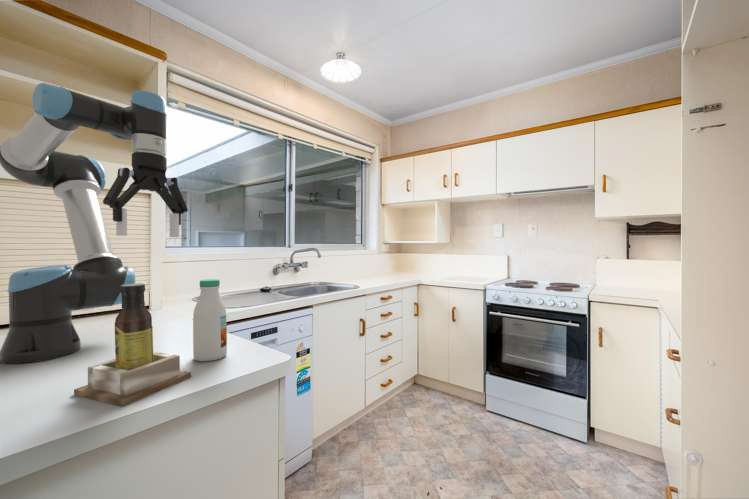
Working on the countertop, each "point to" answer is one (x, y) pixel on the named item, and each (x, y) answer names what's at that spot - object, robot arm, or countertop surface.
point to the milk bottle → (209, 323)
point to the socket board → (131, 380)
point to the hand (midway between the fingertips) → (149, 236)
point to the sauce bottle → (133, 329)
